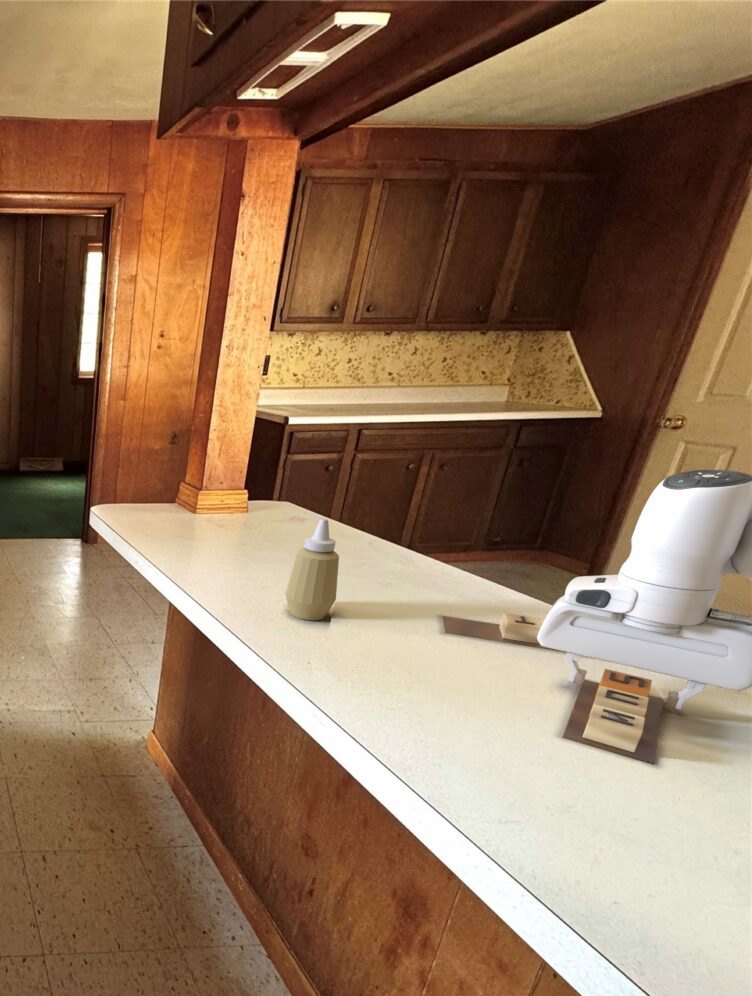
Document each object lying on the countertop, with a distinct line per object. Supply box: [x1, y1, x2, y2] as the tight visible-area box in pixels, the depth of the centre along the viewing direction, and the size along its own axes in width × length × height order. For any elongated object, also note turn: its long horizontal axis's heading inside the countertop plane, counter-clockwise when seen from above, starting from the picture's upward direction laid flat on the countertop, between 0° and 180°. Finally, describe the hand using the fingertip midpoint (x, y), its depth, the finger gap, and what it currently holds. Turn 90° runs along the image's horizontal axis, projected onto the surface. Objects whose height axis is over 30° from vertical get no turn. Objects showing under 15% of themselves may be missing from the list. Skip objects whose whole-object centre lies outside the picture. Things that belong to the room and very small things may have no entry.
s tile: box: [595, 668, 653, 698], centre depth 89 cm, size 5×5×3 cm
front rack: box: [562, 678, 664, 765], centre depth 85 cm, size 20×8×4 cm, turn 133°
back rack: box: [442, 612, 567, 654], centre depth 107 cm, size 20×8×4 cm, turn 58°
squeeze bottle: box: [285, 517, 340, 621], centre depth 117 cm, size 8×8×18 cm
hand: (621, 694), depth 89 cm, fingers open, 8 cm apart
